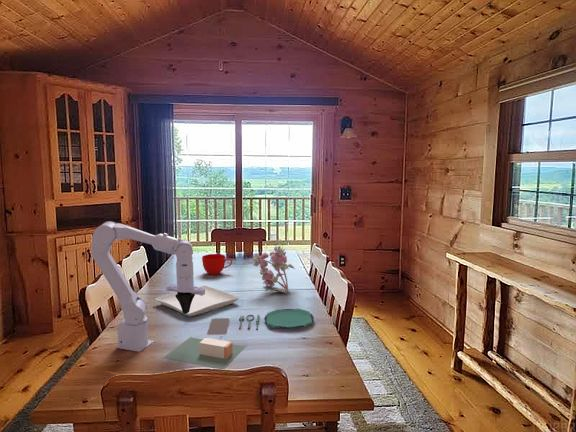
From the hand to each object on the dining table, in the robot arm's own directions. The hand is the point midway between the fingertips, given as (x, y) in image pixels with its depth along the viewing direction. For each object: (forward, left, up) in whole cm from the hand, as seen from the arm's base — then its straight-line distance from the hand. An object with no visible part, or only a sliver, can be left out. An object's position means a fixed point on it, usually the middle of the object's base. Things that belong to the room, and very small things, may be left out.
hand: (186, 312), depth 139 cm
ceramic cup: (-32, +80, -11) cm, 87 cm away
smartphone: (+5, +14, -11) cm, 18 cm away
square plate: (-16, +33, -11) cm, 38 cm away
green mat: (+11, -6, -10) cm, 16 cm away
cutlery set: (+24, +27, -11) cm, 38 cm away
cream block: (+10, -6, -8) cm, 14 cm away
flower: (+8, +64, -11) cm, 65 cm away
